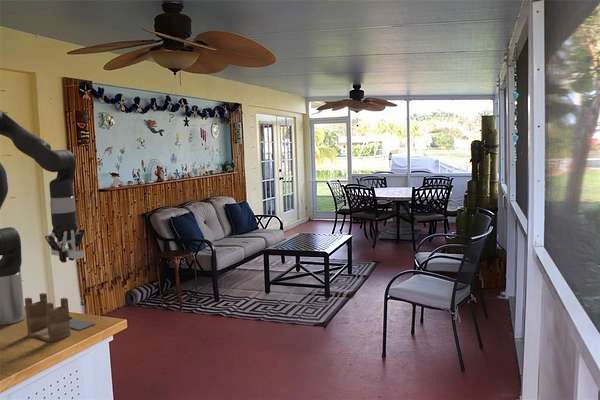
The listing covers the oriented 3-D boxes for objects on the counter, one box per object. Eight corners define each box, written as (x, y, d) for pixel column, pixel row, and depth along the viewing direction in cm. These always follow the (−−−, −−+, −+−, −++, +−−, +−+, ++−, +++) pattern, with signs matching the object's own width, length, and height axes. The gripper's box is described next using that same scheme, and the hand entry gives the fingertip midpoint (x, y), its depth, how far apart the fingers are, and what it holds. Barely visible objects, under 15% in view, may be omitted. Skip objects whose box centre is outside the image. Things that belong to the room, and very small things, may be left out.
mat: (60, 325, 174) (60, 324, 173) (75, 319, 179) (75, 318, 179) (79, 330, 169) (79, 329, 169) (94, 324, 174) (94, 323, 174)
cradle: (28, 334, 166) (24, 298, 164) (46, 328, 171) (42, 292, 170) (52, 342, 160) (49, 304, 158) (70, 335, 165) (67, 298, 163)
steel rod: (51, 254, 171) (50, 247, 171) (57, 253, 173) (57, 246, 173) (77, 259, 164) (76, 251, 164) (83, 257, 166) (83, 250, 166)
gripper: (74, 206, 174) (78, 255, 177) (36, 212, 163) (41, 264, 165) (88, 208, 171) (92, 257, 173) (50, 214, 159) (55, 267, 161)
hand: (67, 260), depth 169 cm, fingers closed on steel rod, 2 cm apart
